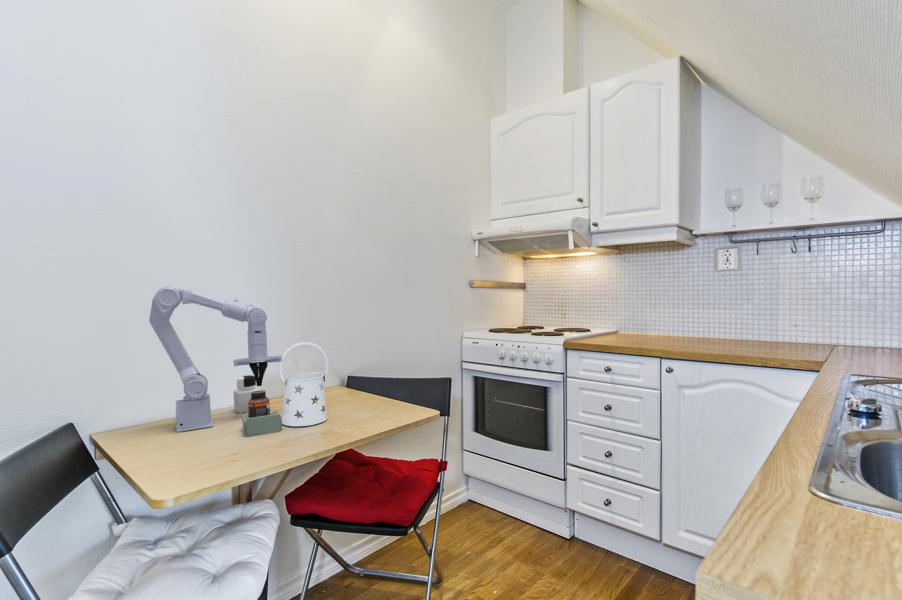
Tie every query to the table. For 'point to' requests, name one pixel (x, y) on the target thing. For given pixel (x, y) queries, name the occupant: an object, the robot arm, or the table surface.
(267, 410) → the supplement bottle
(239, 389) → the medicine bottle
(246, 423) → the holder
